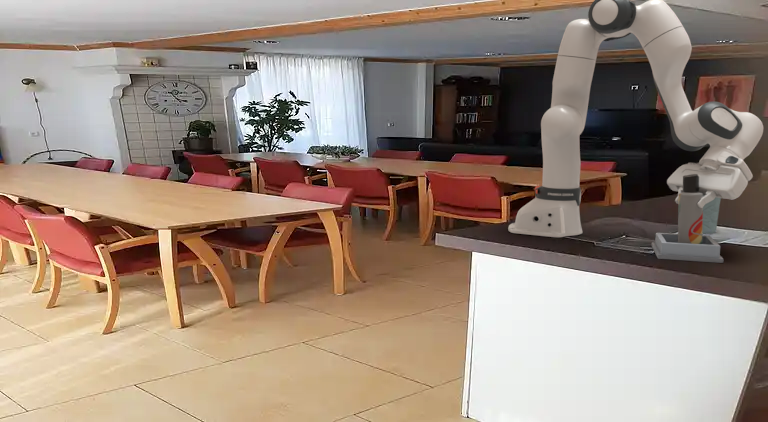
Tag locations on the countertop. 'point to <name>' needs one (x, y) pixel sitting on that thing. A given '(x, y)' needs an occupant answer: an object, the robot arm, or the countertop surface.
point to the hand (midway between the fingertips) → (687, 204)
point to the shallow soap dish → (686, 249)
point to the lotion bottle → (690, 211)
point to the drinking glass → (710, 216)
